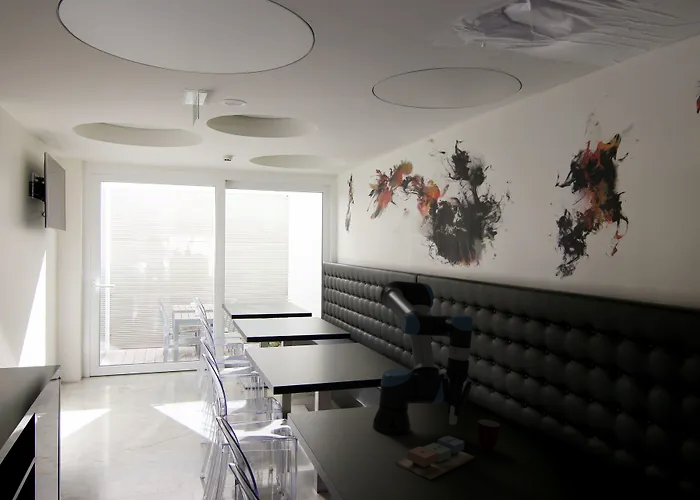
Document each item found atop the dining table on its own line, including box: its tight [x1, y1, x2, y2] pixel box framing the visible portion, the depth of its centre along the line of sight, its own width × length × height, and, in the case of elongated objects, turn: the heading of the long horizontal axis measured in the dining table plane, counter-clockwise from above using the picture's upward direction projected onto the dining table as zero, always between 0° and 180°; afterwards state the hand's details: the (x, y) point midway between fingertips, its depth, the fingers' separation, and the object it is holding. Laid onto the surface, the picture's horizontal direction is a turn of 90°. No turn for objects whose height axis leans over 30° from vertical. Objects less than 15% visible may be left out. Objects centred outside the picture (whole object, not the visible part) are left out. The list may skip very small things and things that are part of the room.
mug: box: [476, 418, 501, 452], centre depth 187 cm, size 10×8×10 cm
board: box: [395, 450, 475, 481], centre depth 173 cm, size 14×28×3 cm, turn 137°
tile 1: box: [406, 445, 437, 467], centre depth 166 cm, size 7×7×3 cm
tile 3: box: [436, 435, 465, 454], centre depth 180 cm, size 7×7×3 cm
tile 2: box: [422, 442, 451, 462], centre depth 173 cm, size 7×7×3 cm
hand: (452, 423), depth 179 cm, fingers closed
